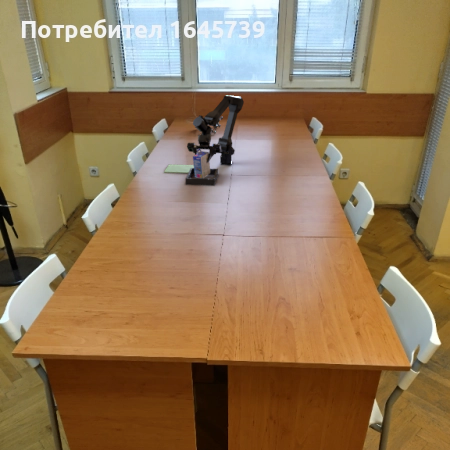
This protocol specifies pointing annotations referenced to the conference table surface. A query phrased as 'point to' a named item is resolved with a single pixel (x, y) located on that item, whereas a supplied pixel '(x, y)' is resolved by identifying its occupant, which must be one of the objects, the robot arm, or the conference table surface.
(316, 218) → the conference table surface
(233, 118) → the robot arm
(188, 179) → the black square frame
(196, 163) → the ink cartridge box
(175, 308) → the conference table surface
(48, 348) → the conference table surface
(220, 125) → the tablet mount
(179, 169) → the mat
